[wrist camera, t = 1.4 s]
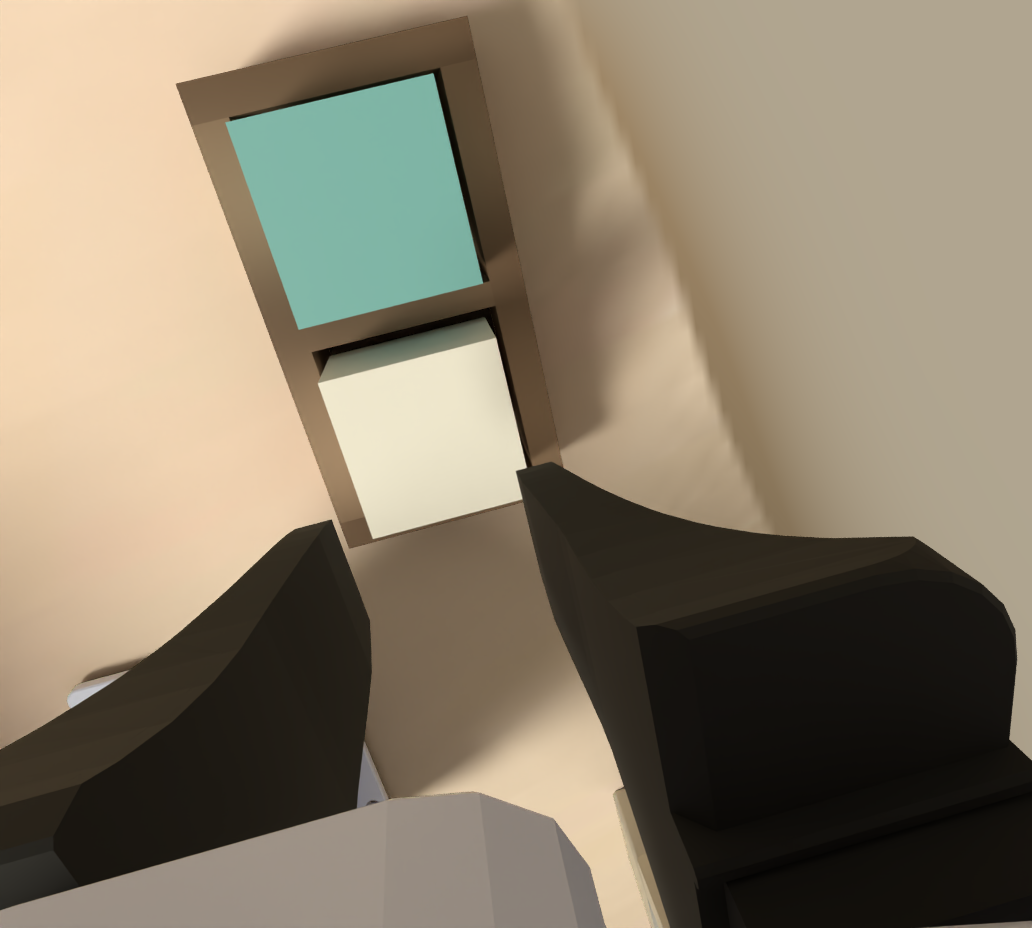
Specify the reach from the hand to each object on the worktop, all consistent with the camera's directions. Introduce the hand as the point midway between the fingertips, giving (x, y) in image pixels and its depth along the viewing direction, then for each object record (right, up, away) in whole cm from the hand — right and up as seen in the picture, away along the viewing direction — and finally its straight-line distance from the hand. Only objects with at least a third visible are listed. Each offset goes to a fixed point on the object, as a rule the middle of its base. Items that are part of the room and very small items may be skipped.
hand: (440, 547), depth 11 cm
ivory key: (-1, +3, +7) cm, 7 cm away
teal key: (-2, +7, +5) cm, 9 cm away
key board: (-2, +6, +8) cm, 10 cm away
